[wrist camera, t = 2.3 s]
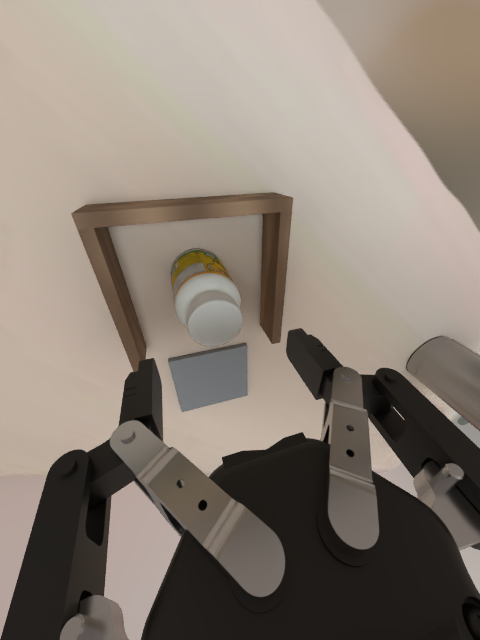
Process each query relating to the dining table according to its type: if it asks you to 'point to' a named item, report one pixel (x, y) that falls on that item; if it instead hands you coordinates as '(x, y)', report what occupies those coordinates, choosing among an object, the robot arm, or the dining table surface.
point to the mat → (210, 376)
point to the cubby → (101, 216)
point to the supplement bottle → (206, 298)
